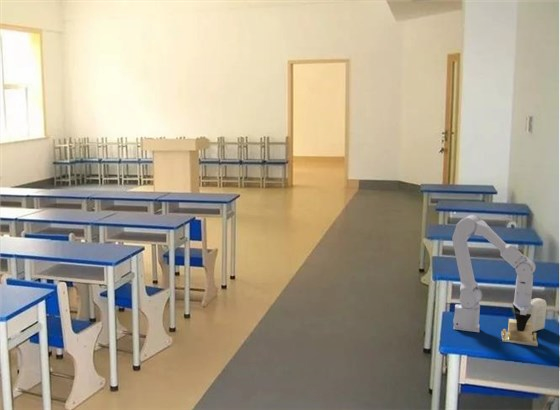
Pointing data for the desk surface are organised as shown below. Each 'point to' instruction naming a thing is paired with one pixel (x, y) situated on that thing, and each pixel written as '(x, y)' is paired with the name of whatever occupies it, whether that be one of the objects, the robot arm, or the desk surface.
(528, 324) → the board
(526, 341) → the plate
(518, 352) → the desk surface
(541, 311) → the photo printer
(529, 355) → the desk surface
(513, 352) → the desk surface
